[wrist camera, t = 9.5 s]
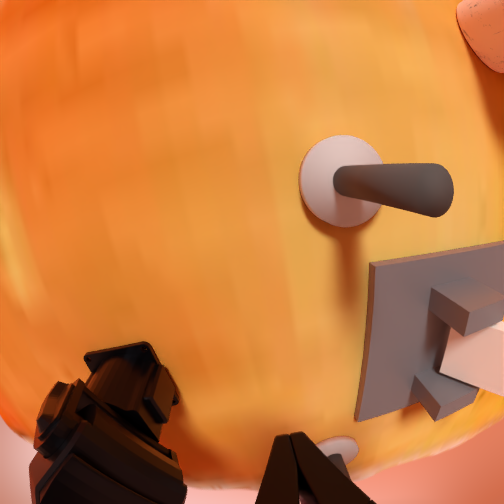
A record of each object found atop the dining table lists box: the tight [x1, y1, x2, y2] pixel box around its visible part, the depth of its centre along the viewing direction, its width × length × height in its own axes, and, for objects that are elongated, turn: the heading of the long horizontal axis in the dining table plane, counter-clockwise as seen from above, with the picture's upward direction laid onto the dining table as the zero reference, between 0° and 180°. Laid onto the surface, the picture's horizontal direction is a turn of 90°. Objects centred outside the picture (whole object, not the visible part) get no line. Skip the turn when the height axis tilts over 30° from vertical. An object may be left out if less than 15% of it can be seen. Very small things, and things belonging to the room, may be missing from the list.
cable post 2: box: [298, 135, 454, 227], centre depth 14 cm, size 6×6×10 cm
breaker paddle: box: [440, 321, 504, 397], centre depth 17 cm, size 2×6×10 cm, turn 6°
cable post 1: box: [315, 436, 359, 480], centre depth 21 cm, size 6×6×10 cm
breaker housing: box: [354, 241, 504, 422], centre depth 20 cm, size 18×16×6 cm
